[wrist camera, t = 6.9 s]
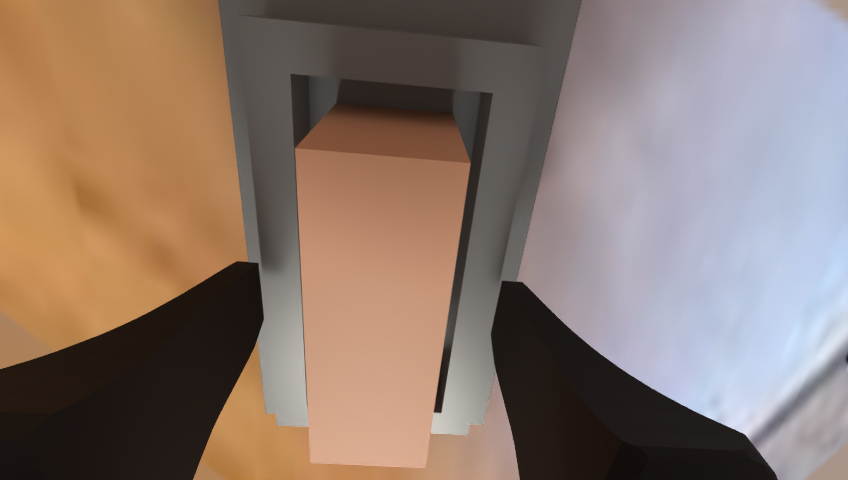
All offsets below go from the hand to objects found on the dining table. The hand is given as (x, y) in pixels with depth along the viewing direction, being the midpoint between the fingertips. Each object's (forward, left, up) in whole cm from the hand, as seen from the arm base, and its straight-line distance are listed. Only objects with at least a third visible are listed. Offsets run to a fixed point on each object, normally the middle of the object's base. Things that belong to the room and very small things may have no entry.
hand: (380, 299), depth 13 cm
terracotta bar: (0, 0, -3) cm, 3 cm away
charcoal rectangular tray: (0, 0, -4) cm, 4 cm away
